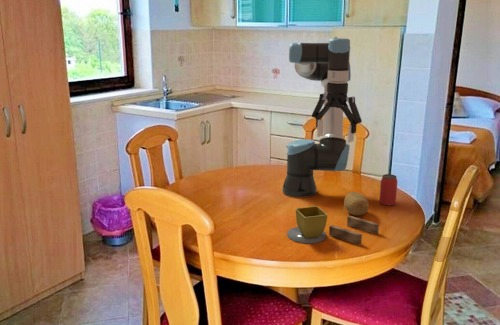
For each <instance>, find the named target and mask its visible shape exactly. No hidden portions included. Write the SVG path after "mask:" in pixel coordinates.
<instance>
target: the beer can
mask: <svg viewBox="0 0 500 325" xmlns="http://www.w3.org/2000/svg"><path fill="white" fill-rule="evenodd" d="M397 189H398V178H397V175H395V174H392V173H386V174H383V175H382V178H381V179H380V189H379V190H380V191H379V203H380V204H381V205H384V206H386V207H387V206H388V207H389V206H395V205H396V203H397V192H398V190H397Z"/></svg>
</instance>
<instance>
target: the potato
mask: <svg viewBox="0 0 500 325" xmlns="http://www.w3.org/2000/svg"><path fill="white" fill-rule="evenodd" d="M343 207H344V209H345V210H346V211H347V212H348V213H349V214H351V215H354V216H362V215H364V214H366V213H367V212H368V210H369V208H370V203H369V199H368V197H366V196H365V195H363V194H361V193H360V192H358V191H353V192H352V191H351V192H350V191H349V193H347V194H346V195H345V198H344V201H343Z"/></svg>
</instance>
